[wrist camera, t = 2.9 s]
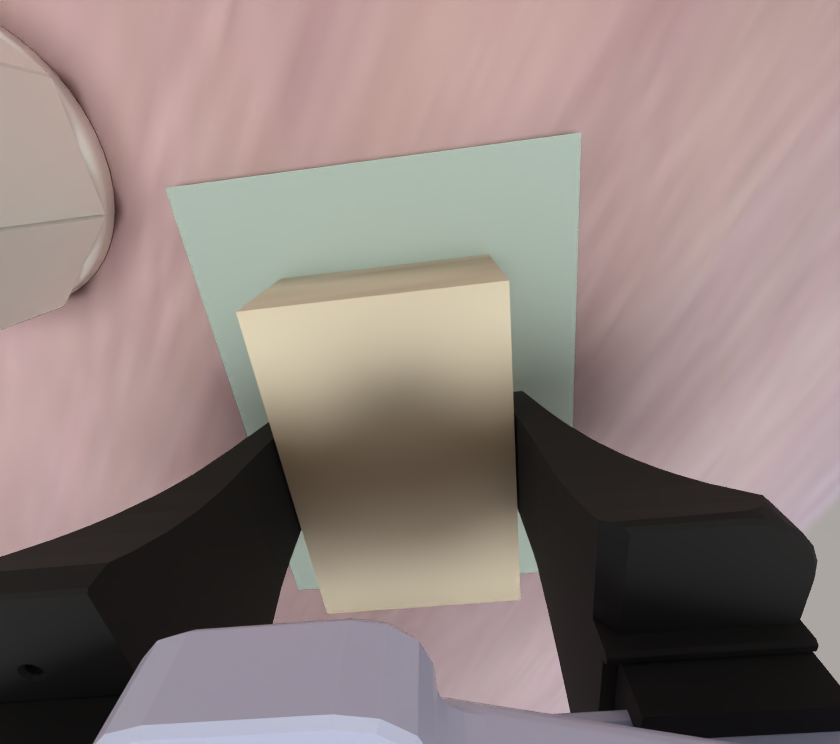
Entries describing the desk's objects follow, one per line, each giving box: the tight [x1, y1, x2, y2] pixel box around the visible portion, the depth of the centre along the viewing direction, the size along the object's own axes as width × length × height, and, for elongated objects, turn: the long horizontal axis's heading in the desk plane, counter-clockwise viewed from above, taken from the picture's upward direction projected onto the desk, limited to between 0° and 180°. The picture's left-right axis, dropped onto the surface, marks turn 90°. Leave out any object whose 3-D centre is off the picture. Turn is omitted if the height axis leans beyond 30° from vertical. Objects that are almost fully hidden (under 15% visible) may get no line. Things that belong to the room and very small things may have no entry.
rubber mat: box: [165, 132, 581, 590], centre depth 14 cm, size 14×10×1 cm
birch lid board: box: [236, 254, 521, 614], centre depth 12 cm, size 9×6×3 cm, turn 7°
